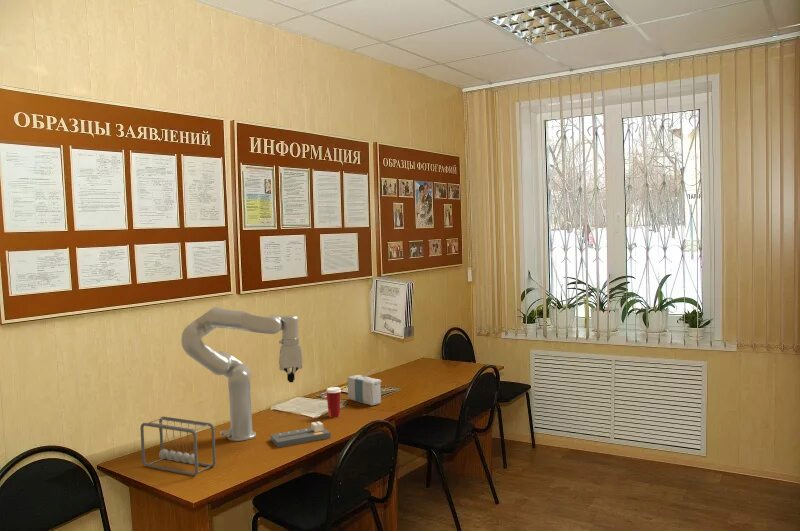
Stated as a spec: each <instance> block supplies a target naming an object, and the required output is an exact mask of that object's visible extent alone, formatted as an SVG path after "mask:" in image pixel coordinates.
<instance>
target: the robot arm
mask: <svg viewBox="0 0 800 531" xmlns="http://www.w3.org/2000/svg"><path fill="white" fill-rule="evenodd" d="M216 328H217V329H219V328H220V329H226V330H227V329H229V330H240V331H243V332H251V333H257V334H258V333H259V334H267V335H275V334H277V333H279V332H280V331H281V336H282V337H281V340H278V343H279V344H281V345H280V347H279V348H280V349H279V350H280V351H279V359H278V361H279V362H278V364H279V367H278V369H279V371H282V372H286V374H287V375H286V376H287V377H286V378H287V379H286V380H287V381H288V382H289V383H294V381H295V375H296V372H297V371H298V370H300V369H303V363H304V362H303V350H302V346H301V344H300V342H299V341H300V338H299V337H300V335H299V334H300V333H299V332H300V329H299V328H300V327H299V317H298V316H297V315H294V314H293V315H292V314H291V315H278V314H277V315H276V314H273V315H269V316H261V315H255V314H251V313H249V312H247V311H243V310H233V309H226V308H225V309H224V308H223V307H220V306H214V307H212V308H210V309H209V310H207V311H206V312H205V313H203V314H202V315H200V317H197V318H196V319H195V320H193V321H192V322H190V323H189V324H188V325H187V326H186V327H185V328H183V331H182V333H181V346H182V349H183V350H184V352H185V353H186V355H188V356H189V358H191V359H193V360H194V361H195V362H197V363H199V364H200V365H201V366H203V367H204V368H206V369H207V370H208V371H210V372H211V373H212V374H213V375H215V376H216V375H217V376H224V377H226V378H227V379H228V380H227V386H228V387H227V388H228V400H229V401H228V402H229V418H230V419H229V420H230V427H228V429H226V430H219V434H220V436H224V437H227V440H229V441H233V442H243V441H249V440H251V439H253V438H255V437H256V436H257V432H256V431H255V430H253V414H252V413H253V412H252V411H253V410H252V394H251V393H252V392H251V377H252V372H251V371H252V370H251V369H250V368H249V366H247V365H246V364H245V363H243V362H242V361H241V360H239V359H238V358H236V356H235V357H234V356H233V355H232V354H230V353H229V352H226V351H217V350H216V349H214V348H213V347H211V346H210V345H208V344H206V343H205V342H203V340H202V339H203V338H204V337H205V336H207V335H208V334H209V333H211V332H212V331H214V330H215V329H216Z"/></svg>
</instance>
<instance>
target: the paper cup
mask: <svg viewBox="0 0 800 531" xmlns="http://www.w3.org/2000/svg"><path fill="white" fill-rule="evenodd" d="M341 392H342V390H341V388H340V387H338V386H331V387H328V388H327V387H326V390H325V393H326V403H327V411H328V412H327V413H328V417H329V418H331V417H336V418H339V417H341ZM338 416H339V417H338Z"/></svg>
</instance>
